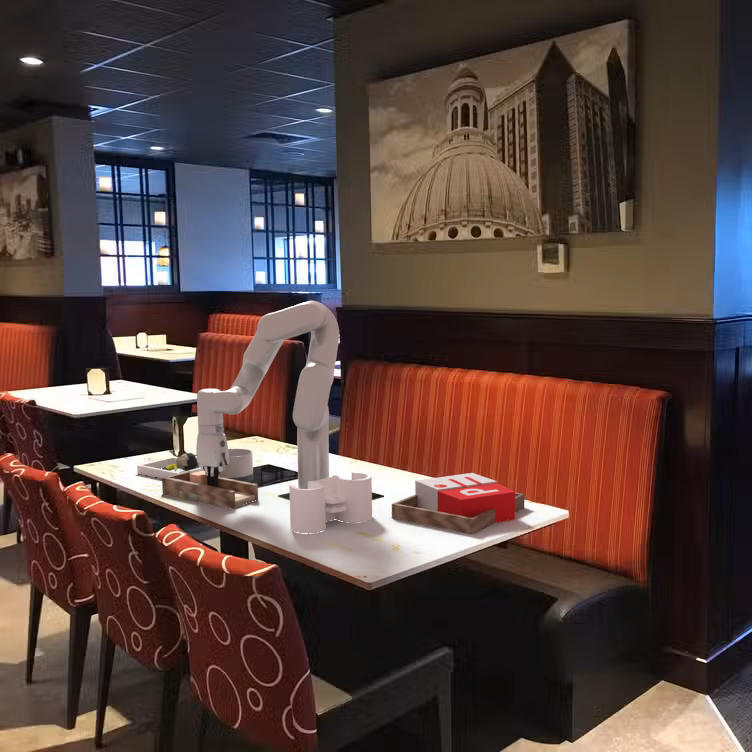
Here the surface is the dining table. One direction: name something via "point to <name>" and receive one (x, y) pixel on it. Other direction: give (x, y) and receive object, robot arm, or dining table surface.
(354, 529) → the dining table surface
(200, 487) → the long wooden tray
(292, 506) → the bracket
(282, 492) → the dining table surface
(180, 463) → the toy
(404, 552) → the dining table surface
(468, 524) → the logo tray
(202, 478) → the block
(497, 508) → the red and white box
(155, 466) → the toy tray
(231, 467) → the planter
